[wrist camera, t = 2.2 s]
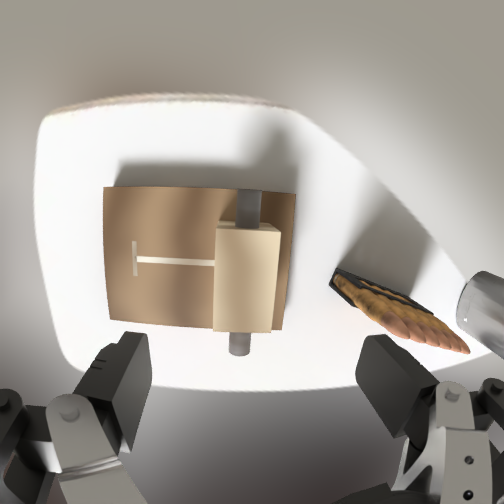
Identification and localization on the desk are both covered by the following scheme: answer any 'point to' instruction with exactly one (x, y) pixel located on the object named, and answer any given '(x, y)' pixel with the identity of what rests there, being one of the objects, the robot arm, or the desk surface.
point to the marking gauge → (245, 273)
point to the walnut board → (177, 251)
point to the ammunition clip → (396, 312)
